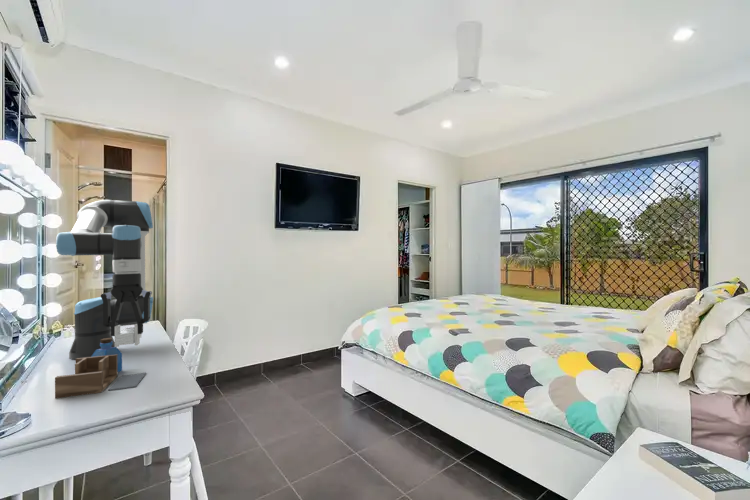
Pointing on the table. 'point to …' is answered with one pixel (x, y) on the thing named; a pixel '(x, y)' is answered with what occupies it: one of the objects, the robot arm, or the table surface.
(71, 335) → the table surface
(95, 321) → the robot arm
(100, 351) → the perfume bottle
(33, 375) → the table surface
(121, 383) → the slate pad
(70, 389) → the pocket jig
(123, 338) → the bar
